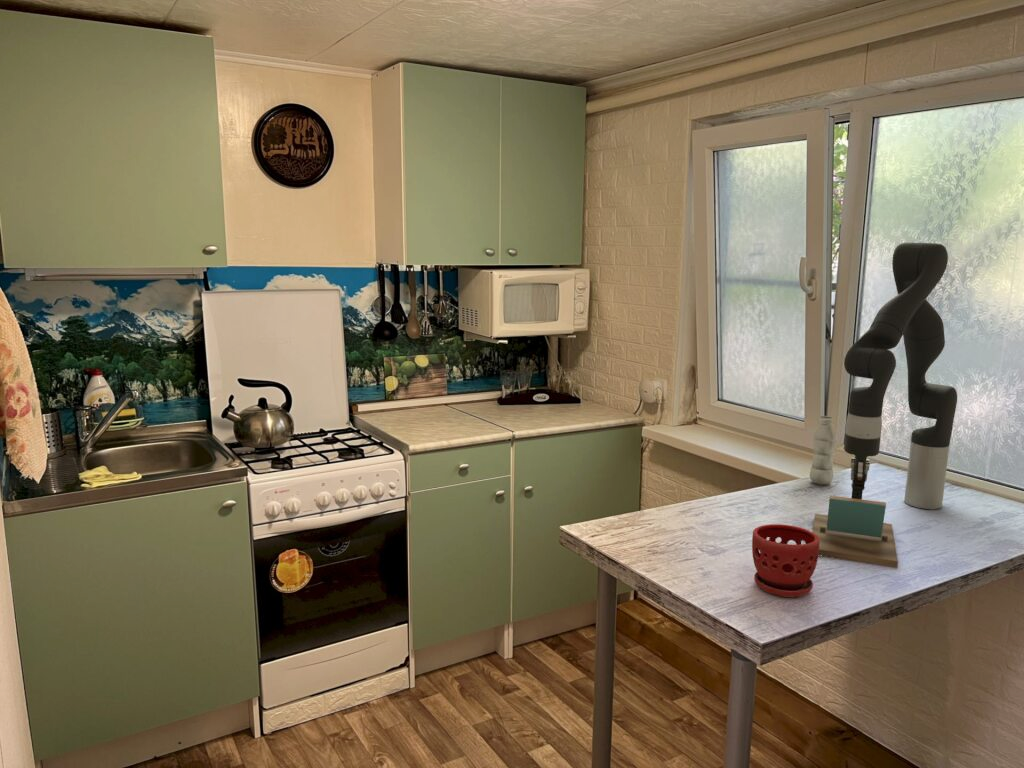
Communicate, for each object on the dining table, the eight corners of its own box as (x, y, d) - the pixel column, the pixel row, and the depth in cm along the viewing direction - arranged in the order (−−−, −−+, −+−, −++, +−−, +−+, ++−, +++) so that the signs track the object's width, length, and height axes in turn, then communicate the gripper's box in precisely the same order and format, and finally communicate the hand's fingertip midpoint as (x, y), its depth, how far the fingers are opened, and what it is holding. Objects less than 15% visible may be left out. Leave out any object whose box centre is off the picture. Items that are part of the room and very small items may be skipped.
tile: (881, 534, 185) (881, 537, 184) (826, 526, 189) (826, 530, 188) (885, 502, 180) (885, 506, 179) (829, 495, 184) (829, 498, 183)
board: (814, 519, 202) (815, 509, 201) (891, 529, 195) (892, 519, 194) (810, 554, 180) (811, 543, 179) (897, 567, 173) (898, 556, 173)
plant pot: (828, 590, 162) (833, 536, 160) (789, 607, 155) (793, 551, 152) (774, 568, 173) (778, 517, 170) (736, 583, 165) (739, 530, 163)
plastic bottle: (811, 486, 227) (817, 419, 223) (806, 479, 233) (812, 414, 229) (834, 487, 226) (841, 420, 222) (829, 480, 232) (835, 415, 228)
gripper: (882, 442, 173) (874, 515, 176) (879, 427, 185) (872, 496, 188) (845, 438, 176) (838, 511, 179) (845, 424, 188) (839, 492, 191)
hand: (856, 503), depth 184 cm, fingers closed
